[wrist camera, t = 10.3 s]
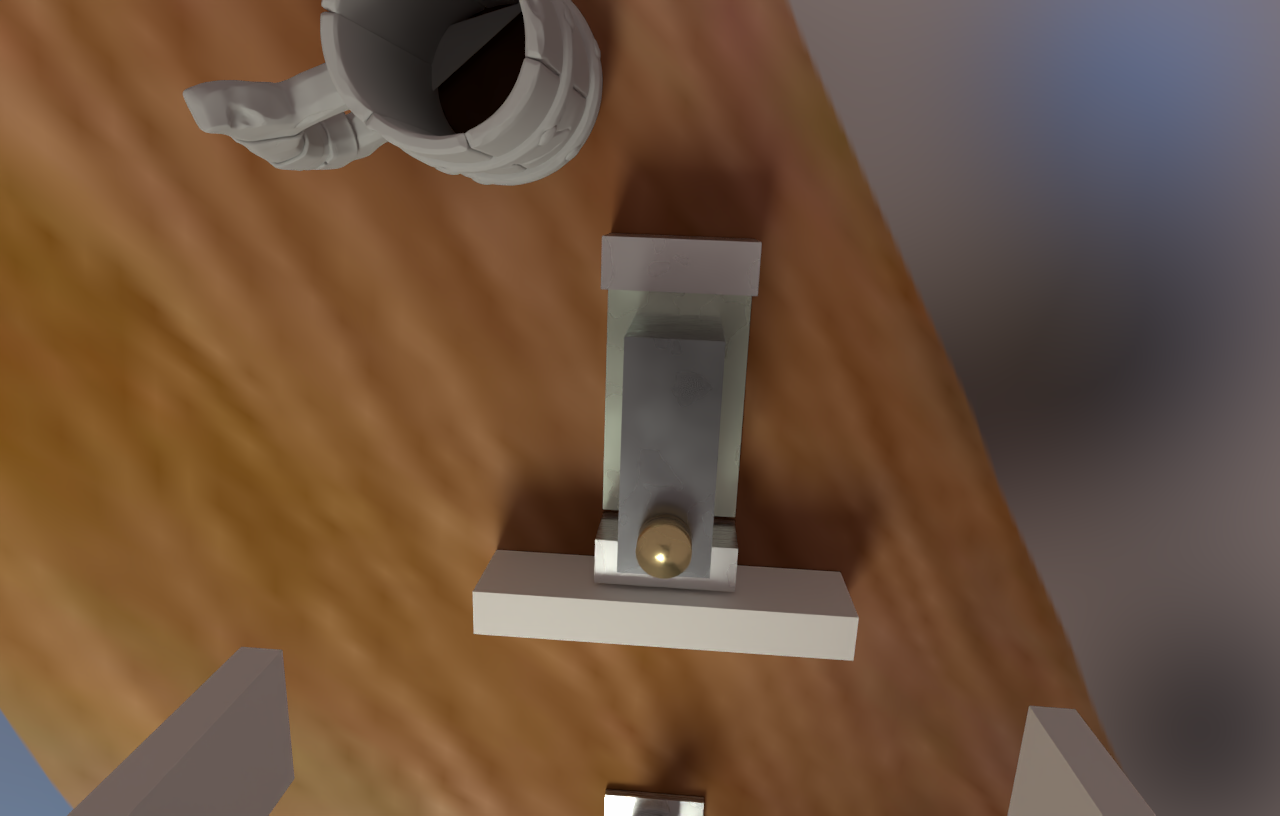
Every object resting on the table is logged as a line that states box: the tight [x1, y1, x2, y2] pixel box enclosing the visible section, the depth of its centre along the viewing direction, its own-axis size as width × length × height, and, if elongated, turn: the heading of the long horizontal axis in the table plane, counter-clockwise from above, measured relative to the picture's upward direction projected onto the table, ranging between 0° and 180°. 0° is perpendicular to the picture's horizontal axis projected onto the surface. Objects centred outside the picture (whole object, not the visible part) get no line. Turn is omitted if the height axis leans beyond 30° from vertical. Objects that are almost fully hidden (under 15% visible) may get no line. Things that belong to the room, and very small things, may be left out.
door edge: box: [473, 550, 859, 661], centre depth 34 cm, size 2×16×4 cm, turn 88°
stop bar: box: [617, 313, 726, 579], centre depth 30 cm, size 9×4×7 cm, turn 178°
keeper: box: [594, 233, 762, 592], centre depth 32 cm, size 14×6×3 cm, turn 178°
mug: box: [183, 0, 603, 185], centre depth 25 cm, size 8×12×12 cm, turn 111°
